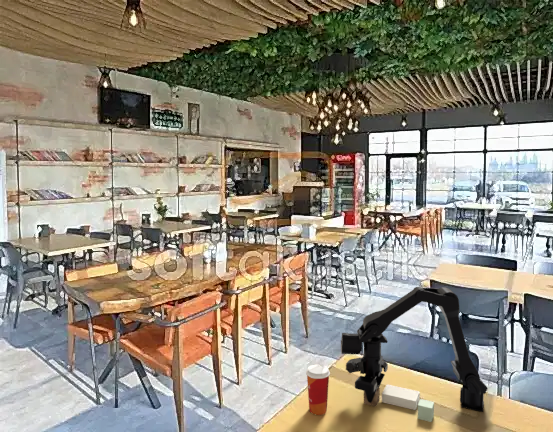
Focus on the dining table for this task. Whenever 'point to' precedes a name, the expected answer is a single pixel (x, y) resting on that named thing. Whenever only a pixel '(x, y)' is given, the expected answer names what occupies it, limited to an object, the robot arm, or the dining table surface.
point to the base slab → (401, 397)
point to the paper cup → (318, 388)
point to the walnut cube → (375, 399)
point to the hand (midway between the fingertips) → (371, 399)
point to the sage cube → (425, 410)
